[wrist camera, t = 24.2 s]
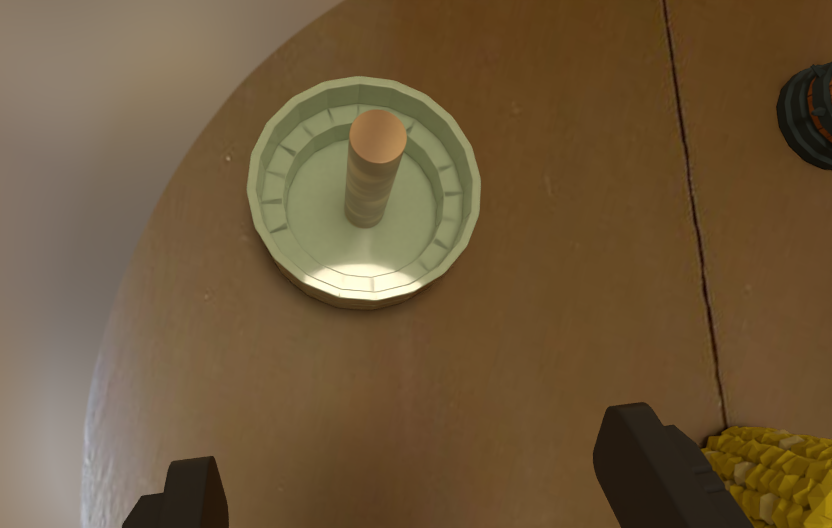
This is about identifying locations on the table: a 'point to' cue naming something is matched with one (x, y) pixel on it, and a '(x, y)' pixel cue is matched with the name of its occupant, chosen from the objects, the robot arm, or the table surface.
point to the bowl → (325, 195)
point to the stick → (372, 165)
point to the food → (775, 475)
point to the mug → (808, 114)
